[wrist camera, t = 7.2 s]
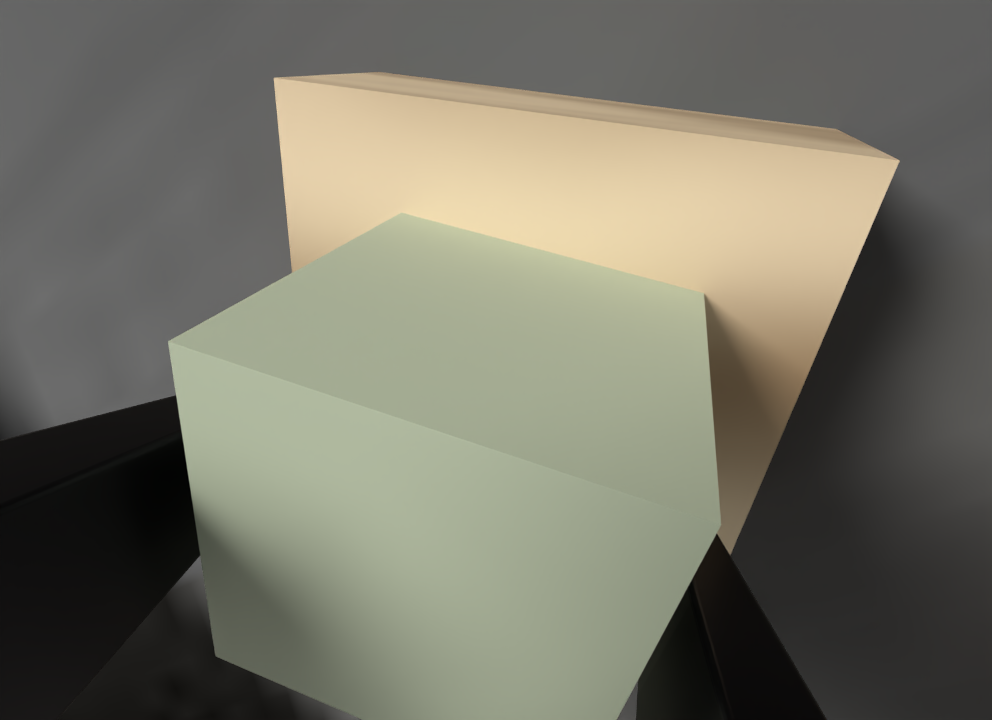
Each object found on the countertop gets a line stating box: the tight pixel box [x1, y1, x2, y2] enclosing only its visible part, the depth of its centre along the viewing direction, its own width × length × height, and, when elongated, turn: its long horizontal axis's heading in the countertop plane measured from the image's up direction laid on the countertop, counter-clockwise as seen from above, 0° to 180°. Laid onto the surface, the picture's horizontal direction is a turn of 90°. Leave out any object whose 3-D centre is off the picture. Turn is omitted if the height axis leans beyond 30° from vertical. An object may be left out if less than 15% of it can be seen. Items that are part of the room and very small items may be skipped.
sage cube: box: [168, 213, 721, 720], centre depth 8 cm, size 5×5×5 cm
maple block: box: [274, 72, 900, 555], centre depth 12 cm, size 9×9×4 cm
